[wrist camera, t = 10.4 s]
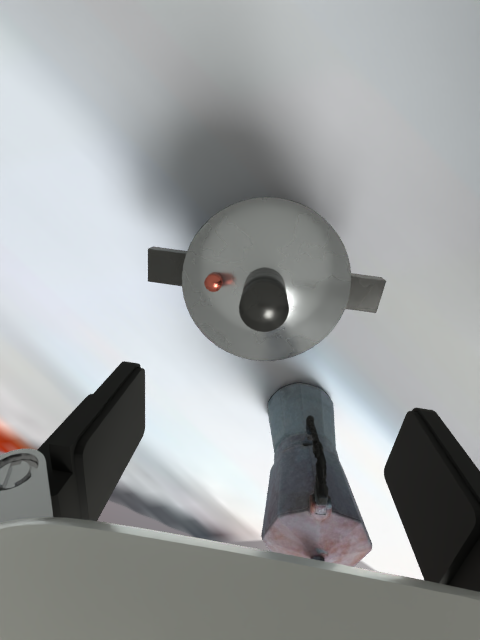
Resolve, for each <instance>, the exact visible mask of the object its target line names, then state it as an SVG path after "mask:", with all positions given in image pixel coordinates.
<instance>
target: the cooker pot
mask: <svg viewBox="0 0 480 640" xmlns="http://www.w3.org/2000/svg"><path fill="white" fill-rule="evenodd" d="M186 253H187V251H182V250H175V249H167V248H160V247H151V248H149V249H148V281H149V282H156V283H164V284H171V285H178V286H182V272H183V264H184V260H185V257H186ZM385 283H386V280H384V279H383V278H382V277H375V276H367V275H360V274H352V273H351V288H350V293H349V298H348V302H347V305H346V307H345V309H351V310H359V311H366V312H373V313H376V312H377V309H378V305H379V302H380V299H381V296H382V293H383V289H384V286H385Z"/></svg>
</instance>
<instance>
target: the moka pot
mask: <svg viewBox="0 0 480 640" xmlns="http://www.w3.org/2000/svg"><path fill="white" fill-rule="evenodd" d="M268 414H269V423H270V428H271V435H272V441H273V447H274V453H275V455H274V465H273V466H272V468H271V471H270V478H269V487H268V493H267V501H266V508H265V515H264V522H263V529H262V535H261V536H262V540H263V541H264V543H265V544H266V546H267V548H268V549H269V551H271V552H276V553H282V554H287V555H293V556H298V557H303V558H309V559H314V560H320V561H325V562H330V563H336V564H341V565H346V566H351V567H354V566H355V565H356V564H357V563H358V562H359V561H360V560H361V559H362V558H364V557H365V556H366V555H367V554H368V553H369V552H370V551H371V549H372V543H371V540H370V538H369V535H368V532H367V530H366V527H365V525H364V522H363V519H362V517H361V514H360V512H359V509H358V506H357V504H356V501H355V499H354V496H353V493H352V491H351V488H350V486H349V483H348V480H347V478H346V476H345V473H344V471H343V468H342V466H341V464H340V462H339V458H338V454H337V451H336V444H335V427H334V410H333V402H332V400H331V399H330V398H329V396H328V395H327V394H326V393H325V392H324V391H323V390H322V389H320V388H318V387H316V386H312V385H309V384H304V383H295V384H291V385H288V386H285V387H283V388H281V389H279V390H278V391H277V392H276V393H275V394H274V395H273V396H272V397H271V399H270V400H269V401H268Z"/></svg>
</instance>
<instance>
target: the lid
mask: <svg viewBox="0 0 480 640" xmlns="http://www.w3.org/2000/svg"><path fill="white" fill-rule="evenodd" d="M182 288H183V295H184V299H185V303H186V306H187V309H188V311H189V313H190V316H191V317H192V319H193V321H194V322H195V324H196V325H197V327H198V328H199V329H200V331H201V332H202V333H203V334H204V335H205V336H206V337H207V338H208V339H209V340H210V341H212V342H213V343H214V344H215V345H217V346H218V347H220V348H221V349H223V350H225V351H227V352H229V353H231V354H233V355H236V356H239V357H242V358H246V359H251V360H260V361H273V360H281V359H285V358H289V357H293V356H296V355H298V354H301V353H303V352H305V351H307V350H309V349H311V348H312V347H314V346H315V345H316V344H318V343H319V342H320V341H322V340H323V339H324V338H325V337H326V336H327V335H328V334H329V333H330V332H331V331H332V330H333V328H334V327H335V326H336V324H337V323H338V321H339V320H340V318H341V316H342V314H343V312H344V310H345V307H346V305H347V302H348V298H349V293H350V288H351V270H350V263H349V259H348V255H347V252H346V250H345V247H344V245H343V243H342V241H341V239H340V237H339V236H338V234H337V233H336V232H335V230H334V229H333V228H332V226H331V225H330V224H329V223H328V222H327V221H326V220H325V219H324V218H323V217H321V216H320V215H319V214H317V213H316V212H315V211H313V210H311V209H309V208H308V207H306V206H304V205H302V204H299V203H296V202H293V201H291V200H286V199H282V198H273V197H261V198H253V199H248V200H244V201H241V202H238V203H235V204H233V205H230V206H229V207H227V208H225V209H223V210H221V211H220V212H218V213H217V214H216V215H214V216H213V217H211V218H210V219H209V220H208V221H207V222H206V223H205V224H204V225H203V226H202V227H201V229H200V230H199V231H198V233H197V234H196V235H195V237H194V239H193V240H192V242H191V244H190V246H189V249H188V251H187V253H186V257H185V260H184V264H183V272H182Z"/></svg>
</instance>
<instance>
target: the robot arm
mask: <svg viewBox="0 0 480 640" xmlns="http://www.w3.org/2000/svg"><path fill="white" fill-rule="evenodd" d="M144 430H145V370H144V369H143V368H141V367H140V364H137V363H131V362H125V361H124V362H122V363H121V364H120V365H119V366H118V367H117V368H116V369H115V370H114V372H113V373H112V374H111V375H110V376H109V377H108V378H107V379H106V380H105V381H104V383H103V384H102V385H101V386H100V387H99V388H98V389H97V390H96V391H95V393H94V394H90V395H88V396H87V397H86V398H85V399H84V400H83V401H82V402H81V403H80V404H79V406H78V407H77V408H76V409H75V410H74V411H73V412H72V413H71V414H70V415H69V416H68V417H67V419H66V420H65V421H64V422H63V423H62V424H61V425H60V426H59V427H58V428H57V429H56V430H55V431H54V433H53V434H52V435H51V436H50V437H49V438H48V439H47V440H46V441H45V442H44V443H43V444H42V446H41V447H40V448H39V449H38V450H34V449H19V450H14V451H10V452H8V453H5V454H3V455H1V456H0V640H480V471H479V470H478V468H477V467H476V466H475V464H474V463H473V462H472V460H471V459H470V458H469V456H468V455H467V453H466V452H465V451H464V449H463V448H462V447H461V445H460V444H459V443H458V441H457V440H456V439H455V437H454V436H453V435H452V433H451V432H450V431H449V429H448V428H447V427H446V425H445V424H444V423H443V421H442V420H441V418H440V417H439V416H438V414H437V413H436V412H435V411H433V410H427V409H421V408H414V409H413V410H412V411H409V412H407V414H406V416H405V419H404V421H403V424H402V426H401V429H400V431H399V433H398V436H397V438H396V441H395V443H394V446H393V448H392V451H391V453H390V455H389V458H388V460H387V463H386V465H385V468H384V477H385V480H386V483H387V485H388V488H389V490H390V493H391V495H392V498H393V500H394V503H395V506H396V508H397V511H398V513H399V516H400V518H401V521H402V524H403V526H404V529H405V531H406V534H407V536H408V539H409V541H410V544H411V547H412V549H413V552H414V554H415V557H416V559H417V562H418V564H419V567H420V570H421V572H422V575H423V577H424V580H419V579H414V578H409V577H404V576H398V575H393V574H388V573H383V572H378V571H372V570H367V569H362V568H357V567H351V566H346V565H341V564H336V563H330V562H325V561H320V560H314V559H309V558H303V557H298V556H293V555H287V554H282V553H276V552H271V551H265V550H260V549H255V548H249V547H244V546H238V545H233V544H227V543H222V542H216V541H211V540H205V539H200V538H194V537H188V536H183V535H177V534H171V533H165V532H160V531H155V530H149V529H143V528H137V527H131V526H124V525H118V524H112V523H106V522H99V521H97V520H98V518H99V516H100V514H101V513H102V510H103V509H104V507H105V505H106V503H107V501H108V500H109V498H110V496H111V494H112V492H113V490H114V489H115V487H116V485H117V483H118V481H119V479H120V477H121V476H122V474H123V472H124V470H125V468H126V466H127V465H128V463H129V461H130V459H131V457H132V455H133V453H134V452H135V450H136V448H137V446H138V444H139V442H140V441H141V439H142V437H143V434H144Z"/></svg>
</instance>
